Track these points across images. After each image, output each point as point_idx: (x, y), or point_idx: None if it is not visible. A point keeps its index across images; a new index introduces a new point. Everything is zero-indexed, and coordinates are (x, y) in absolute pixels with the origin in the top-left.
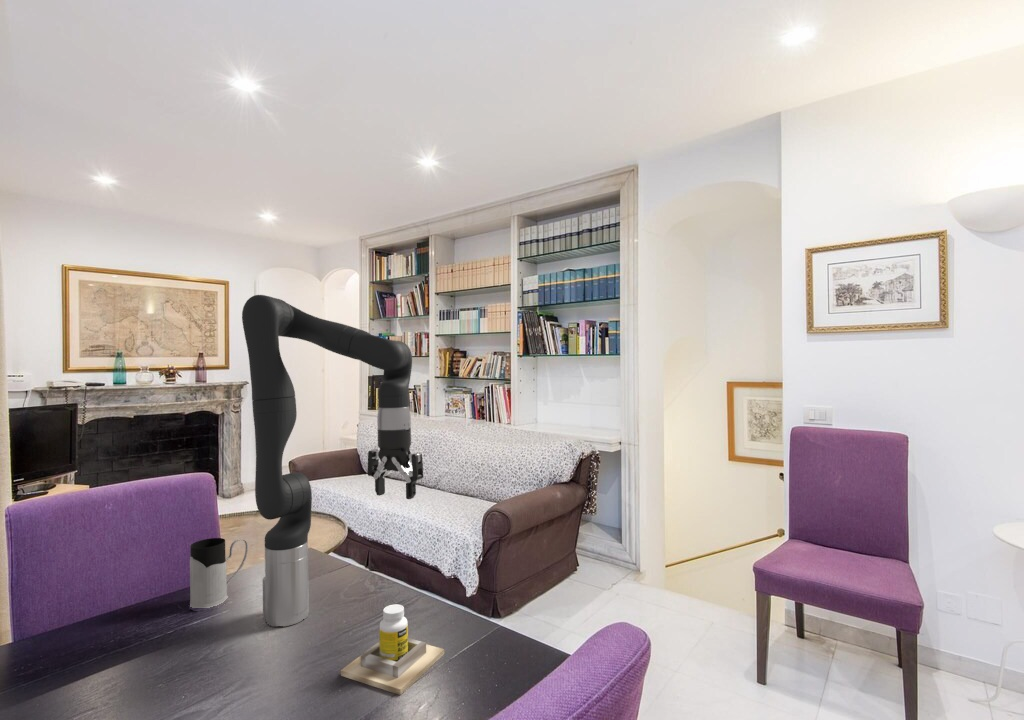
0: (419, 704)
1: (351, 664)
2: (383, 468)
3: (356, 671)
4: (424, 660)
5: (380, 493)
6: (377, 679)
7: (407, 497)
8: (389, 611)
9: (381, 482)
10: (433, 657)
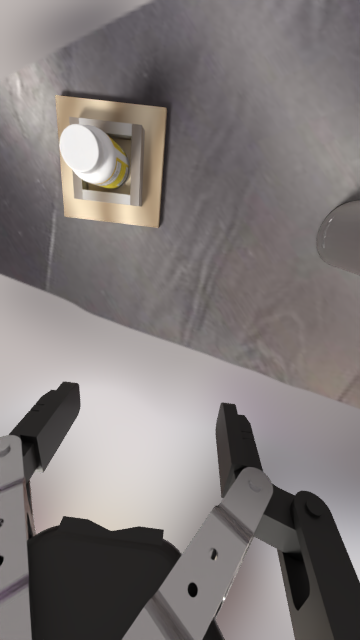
0: (24, 88)
1: (160, 130)
2: (211, 558)
3: (142, 114)
4: (71, 179)
5: (220, 413)
6: (100, 106)
7: (66, 384)
8: (77, 133)
9: (224, 462)
10: (64, 191)
